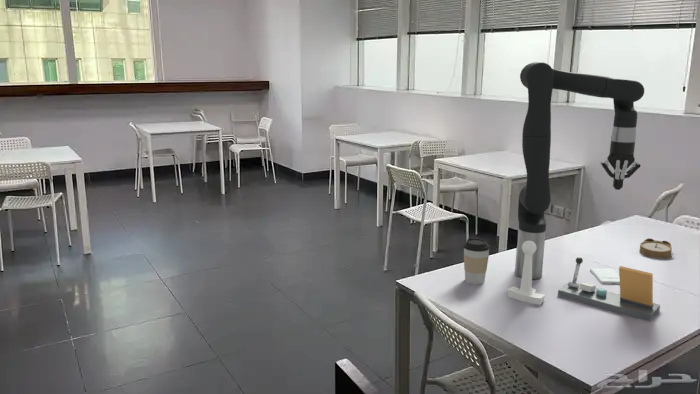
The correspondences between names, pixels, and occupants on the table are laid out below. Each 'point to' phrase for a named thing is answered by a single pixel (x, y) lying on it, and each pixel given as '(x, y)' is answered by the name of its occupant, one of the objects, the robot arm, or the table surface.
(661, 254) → the alarm clock
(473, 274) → the coffee cup
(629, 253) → the table surface
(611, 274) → the external hard drive
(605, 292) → the push button
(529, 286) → the joystick
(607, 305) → the panel
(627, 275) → the tan flat slab
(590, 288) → the block
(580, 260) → the toggle lever
